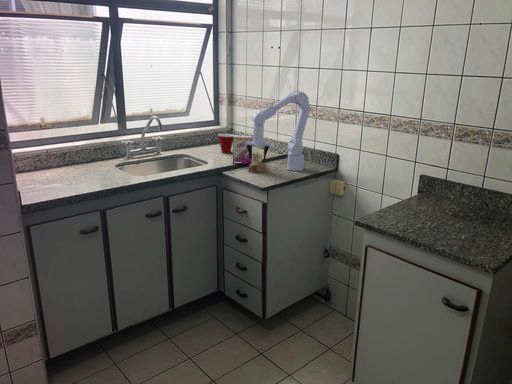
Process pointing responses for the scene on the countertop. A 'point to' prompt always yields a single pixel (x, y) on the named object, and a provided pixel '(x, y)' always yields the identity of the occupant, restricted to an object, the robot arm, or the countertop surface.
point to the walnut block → (257, 168)
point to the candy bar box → (241, 149)
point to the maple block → (257, 159)
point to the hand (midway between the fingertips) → (257, 159)
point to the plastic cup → (226, 142)
